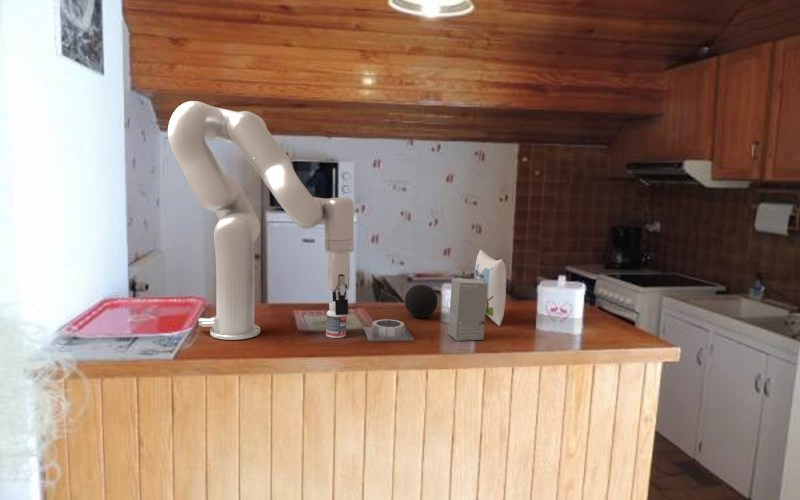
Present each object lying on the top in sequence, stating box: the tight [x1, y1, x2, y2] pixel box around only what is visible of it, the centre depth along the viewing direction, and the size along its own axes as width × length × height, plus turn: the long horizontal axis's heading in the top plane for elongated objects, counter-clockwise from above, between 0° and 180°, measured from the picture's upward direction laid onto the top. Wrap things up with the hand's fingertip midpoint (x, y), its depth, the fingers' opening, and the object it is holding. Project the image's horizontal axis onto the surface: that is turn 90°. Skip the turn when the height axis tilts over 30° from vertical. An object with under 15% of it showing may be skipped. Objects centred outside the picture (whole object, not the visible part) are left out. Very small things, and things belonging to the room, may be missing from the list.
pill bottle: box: [325, 300, 347, 339], centre depth 150 cm, size 5×5×9 cm
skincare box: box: [447, 278, 488, 342], centre depth 153 cm, size 8×7×16 cm
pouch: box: [473, 249, 507, 327], centre depth 174 cm, size 8×19×20 cm, turn 7°
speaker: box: [404, 284, 439, 318], centre depth 173 cm, size 10×10×10 cm
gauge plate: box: [362, 318, 415, 342], centre depth 153 cm, size 12×11×3 cm
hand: (340, 309), depth 150 cm, fingers open, 9 cm apart
